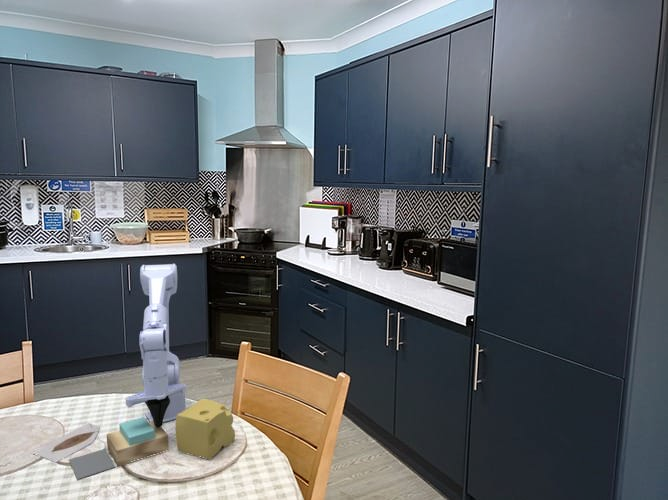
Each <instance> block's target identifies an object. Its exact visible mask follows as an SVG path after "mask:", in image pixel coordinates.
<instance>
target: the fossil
mask: <svg viewBox="0 0 668 500" xmlns="http://www.w3.org/2000/svg"><path fill="white" fill-rule="evenodd" d="M100 429H101V428H100V425H96V424H93V423H91V422H88V423H86V424H83V425H82V426H80V427H78V428H76V429H74V430H72V431H70V432H68V433H66V434H63V435H61V436H60V437H57V438H56V439H54V440H52V441H50V442H48V443H46V444H44V445H41V446H39V447H38V448H41V447H42V448H41V449H42V450H41V449H38V450H40V451H36V452H37V453H38V454H37V453H34V454H37V455H38V456H37V455H36V456H37V457H39V456H40V458H43V459H45V460H47V461H50V462H53V463H55V464H57V463H58V462H60V460H61V461H63V460H64V459H66V458H68V457H70V456H72V455H74V454H76V453H78V452H79V451H81V450H83V449H85V448H86V447H89V446H91V445H93V443H94V442H95V441H96V439H97V437H99V434H100ZM41 453H42V454H41ZM34 454H33V455H34ZM63 458H64V459H63ZM62 459H63V460H62Z"/></svg>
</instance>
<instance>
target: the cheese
mask: <svg viewBox="0 0 668 500" xmlns="http://www.w3.org/2000/svg"><path fill="white" fill-rule="evenodd" d="M175 420H176V421H175V439H176V446H177V451H178V452H180V451H181V452H180V453H183V452H184V453H183V454H186V453H189V454H188V455H190V454H193V455H192V456H194V455H197V456H196V457H198V456H201V457H204V458H206V459H205V460H208V459H209V460H211V459H212V458H213V457H215V456H216V455H215V454H218V453H219V452H220V450H221V448H226V447H228V446H229V445H230V444H231V445H232V443H234V441H235V438H236V432H235V431H236V430H235V429H234V428H233V424H234V417H233V413H232V412H230V411H229V410H228V409H227V407H226V406H225V405H224V404H223V403H220V402H218V401H217V402H216V401H215V400H211V399H207V398H201V399H199V400H198V401H196V402H195V403H194V404H193V405H191V406H189V407H188V408H186V410H184V411H183V412H181V413H179V414H177V418H176V419H175ZM201 457H200V458H201ZM211 457H212V458H211ZM204 458H203V459H204ZM210 458H211V459H210Z"/></svg>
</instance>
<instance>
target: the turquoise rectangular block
mask: <svg viewBox="0 0 668 500" xmlns="http://www.w3.org/2000/svg"><path fill="white" fill-rule="evenodd" d="M148 422H149V421H148V420H147V419H146V418H145V416H143V417H139V418H136V419H135V418H134V419H132V420H129V421H124V422H121V423H119V424H118V425H119V430H120V432H121V434H122V435H123V437H124V438H125V440H126V441H127V443H128V444H129V446H131V445H134V444H137V443H141V442H144V441H147V440H150V439H154V438H155V430H154V429H153V427H152V426H151V425H150V424H149V423H148Z"/></svg>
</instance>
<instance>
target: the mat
mask: <svg viewBox="0 0 668 500" xmlns="http://www.w3.org/2000/svg"><path fill="white" fill-rule="evenodd" d="M113 461H114V460H112V457H111V455H110V453H109V452H108V450H107V449H106V448H103V449H100V450H97V451H94V452H93V451H92V452H89V453H86V454H82V455H79V456H76V457H73V458H69V461H68V462H69V463H70V466H71V468H72V470H73V473H74V475H75V478H76V480H77V481H79V480H83V479H86V478H89V477H92V476H95V475H98V474H101V473H104V472H107V471H110V470H114V469H115V468H116V464H115V462H113Z"/></svg>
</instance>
